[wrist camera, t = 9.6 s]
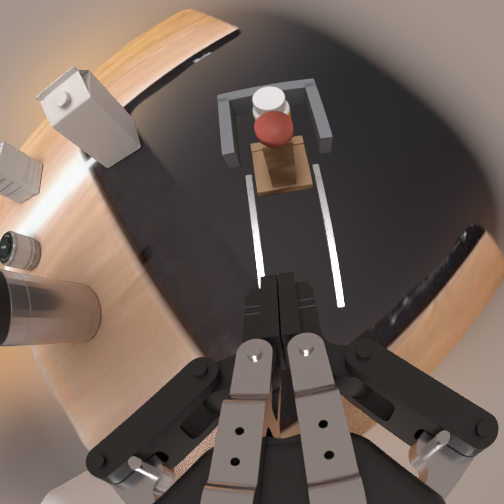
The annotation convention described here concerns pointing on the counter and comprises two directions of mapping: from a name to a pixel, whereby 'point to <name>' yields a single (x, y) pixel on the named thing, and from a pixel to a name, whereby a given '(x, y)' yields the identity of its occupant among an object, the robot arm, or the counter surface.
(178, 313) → the counter surface
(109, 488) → the bottle
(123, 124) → the milk carton
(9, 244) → the camera lens
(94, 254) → the counter surface
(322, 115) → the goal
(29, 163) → the supplement box
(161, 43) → the counter surface
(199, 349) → the counter surface
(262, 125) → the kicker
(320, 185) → the track
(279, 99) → the supplement bottle
